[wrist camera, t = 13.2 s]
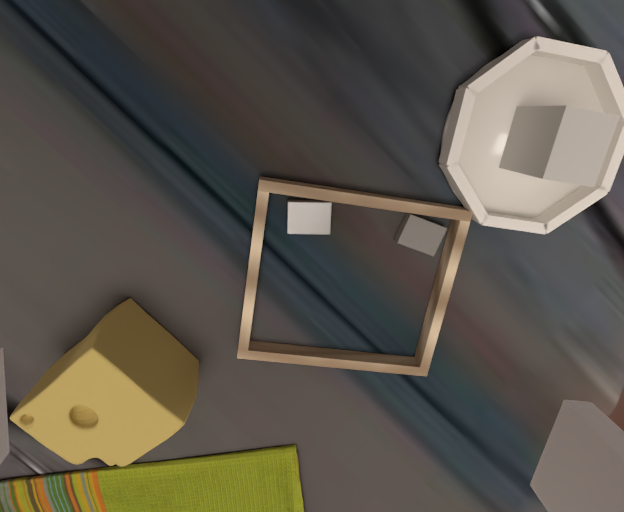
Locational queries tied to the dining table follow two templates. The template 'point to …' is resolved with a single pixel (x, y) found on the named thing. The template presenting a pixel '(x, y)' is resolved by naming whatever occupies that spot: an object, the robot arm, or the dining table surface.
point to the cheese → (113, 391)
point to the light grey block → (308, 217)
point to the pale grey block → (559, 143)
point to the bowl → (496, 125)
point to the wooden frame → (345, 357)
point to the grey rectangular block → (420, 234)
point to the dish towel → (168, 486)
